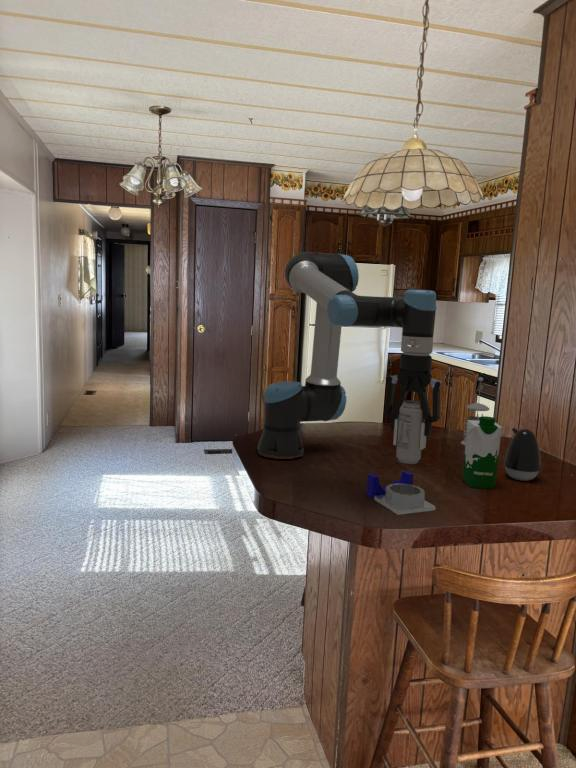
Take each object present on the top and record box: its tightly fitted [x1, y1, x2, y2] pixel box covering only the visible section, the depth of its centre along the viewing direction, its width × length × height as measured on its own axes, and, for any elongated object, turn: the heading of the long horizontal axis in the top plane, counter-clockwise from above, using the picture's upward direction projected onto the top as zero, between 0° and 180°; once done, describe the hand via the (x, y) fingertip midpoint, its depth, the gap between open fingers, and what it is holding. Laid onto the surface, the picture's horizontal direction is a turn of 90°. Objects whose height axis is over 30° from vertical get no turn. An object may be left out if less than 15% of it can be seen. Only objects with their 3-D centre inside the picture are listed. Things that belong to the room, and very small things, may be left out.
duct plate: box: [373, 483, 436, 516], centre depth 146 cm, size 11×11×4 cm
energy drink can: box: [395, 399, 424, 465], centre depth 143 cm, size 6×6×15 cm
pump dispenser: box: [503, 427, 542, 482], centre depth 172 cm, size 10×10×15 cm
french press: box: [460, 377, 490, 446], centre depth 209 cm, size 10×12×25 cm
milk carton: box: [462, 415, 503, 490], centre depth 164 cm, size 9×9×20 cm
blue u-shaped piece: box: [366, 470, 414, 500], centre depth 153 cm, size 12×4×6 cm, turn 111°
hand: (409, 445), depth 144 cm, fingers closed on energy drink can, 6 cm apart
